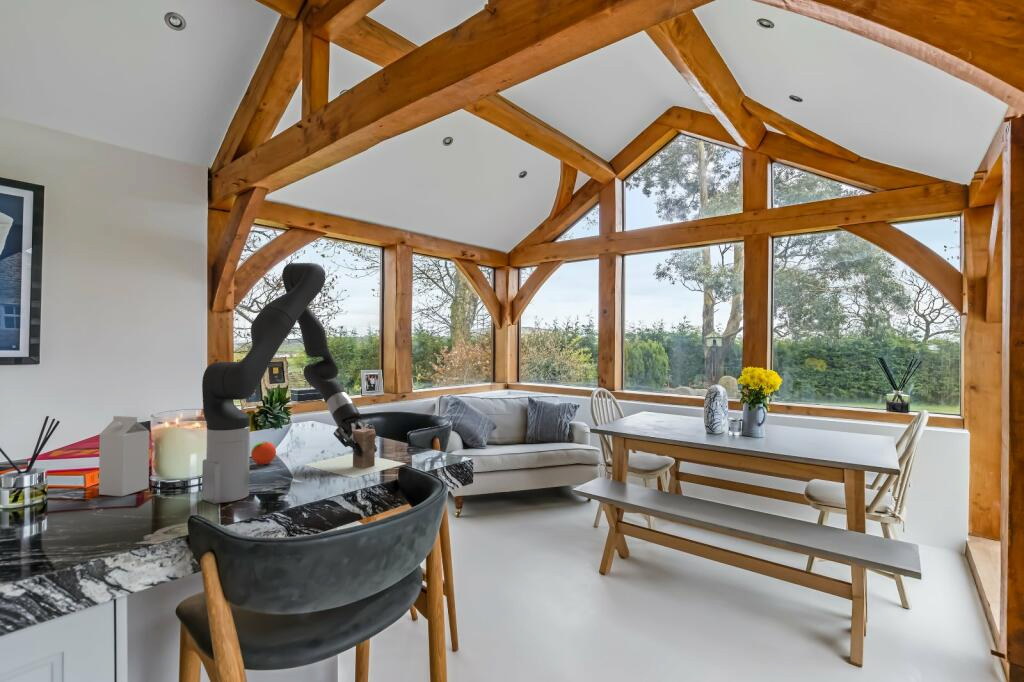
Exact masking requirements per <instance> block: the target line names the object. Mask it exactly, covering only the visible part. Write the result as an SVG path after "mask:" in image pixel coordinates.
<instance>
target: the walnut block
mask: <svg viewBox="0 0 1024 682" xmlns="http://www.w3.org/2000/svg"><path fill="white" fill-rule="evenodd" d="M353 432H354V433H355V438H356V439H357V443H359V445H360V447H361V449H362V450H363V452H364V453H363V455H362V456H361V457H358V456H357V455H356V454H355V452H354V450H353V449H352V454H353V467H357V468H361V469H364V468H368V467H372V466H375V457H376V456H375V455H376V452H375V445H376V444H375V443H376V438H375V432H376V429H375V430H373V429H367V428H363V429H357V430H353Z"/></svg>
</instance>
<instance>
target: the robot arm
mask: <svg viewBox="0 0 1024 682" xmlns="http://www.w3.org/2000/svg"><path fill="white" fill-rule="evenodd" d="M281 274H282V275H281V279H282V283H283V286H284V290H285V292H286V293H284V294H282V295H280V296H278V297H277V298H275V299H273V300H272V301H269V302H268V303H267V304H265V305H264V307H263V308H261V310H260V312H259V313H258V314H257V315H256V317H255V318H254V320H252V323H251V325H250V337H251V348H250V350H249V351H248V353H247V354H246V355H245V356H244V358H243V359H242V360H240V361H215V362H213V363H210V364H209V365H208V366H207V367H206V369H204V373H203V375H202V381H201V382H202V383H201V390H202V411H203V412H202V413H203V417H204V419H205V422H206V458H205V459H203V460H202V469H201V470H202V473H201V474H202V475H201V476H202V479H201V480H202V481H201V483H202V485H201V486H202V488H201V499H202V500H204V501H205V502H208V503H209V504H210V503H211V504H213V505H215V504H221V503H231V502H235V501H239V500H243V499H244V498H245V499H246V498H247V497H249V495H250V455H251V452H250V442H251V441H250V439H251V437H250V436H251V426H250V425H251V417H250V414H248V413H247V412H245V411H242V410H241V409H240V408H238V407H237V406H236V405H235V401H241V400H245V399H249V398H250V397H251V396H253V394H254V393H255V392H256V390H257V389H258V388H259V386H260V384H261V382H262V380H263V377H264V376H265V374H266V371H267V369H268V368H269V366H270V364H271V362H272V360H273V359H274V357H275V356H276V354H277V352H278V351H279V349H280V347H281V345H282V344H283V343H284V342H285V340H286V338H287V337H288V336H289V334H290V333H291V331H292V330H293V328H294V326H295V325H296V323H298V327H299V328H300V329H299V330H300V333H301V338H302V341H303V346H304V351H305V354H306V356H307V357H309V358H322V360H318V361H315V362H312V363H308V364H306V365H305V367H304V368H303V377H304V379H305V381H306V382H307V383H308V384H309V385H310V386H311V387H312V388H313V389H314V390H315V391H317V393H319V394H320V396H321V397H322V399H323V400H324V402H325V404H326V406H327V408H328V411H329V413H330V415H331V417H332V418H333V421H334V422H335V424H336V426H337V428H336V429H335V430H334V432H333V433H332V434H333V436H334V437H335V438H336V439H337V440H338V441H339V442H340V443H341V444H342V446H344V448H347V447H350V448H351V449H352V451H353V450H354V452H355V454H356V455H357V456H358V457H361V456H362V455H363V453H364V452H363V450H362V449H361V447H360V445H359V443H357V439H356V438H355V433H354V432H353V430H357V429H363V428H367V429H373V430H375V439H376V438H377V436H378V435H377V432H376V429H375V425H374V423H373V422H371V421H370V422H369V423H365V422H364V421H363V420H362V417H361V413H360V412H359V409H358V408H357V406H356V404H355V402H354V401H353V399H352V398H351V397H350V395H349V393H347V391H346V389H345V388H344V386H343V384H342V383H341V381H339V380H336V379H335V378H337V376H338V374H339V367H338V364H337V363H336V361H335V359H334V358H333V356H332V353H331V350H330V348H329V345H328V339H327V335H326V330H325V327H324V325H323V323H322V322H321V321H320V319H319V318H318V317H317V316H316V314H315V313H314V311H313V310H312V308H310V306H309V305H310V304H311V303H312V302H313V300H314V299H316V297H317V296H318V295H319V293H320V292H321V291H322V289H323V288H324V286H325V283H326V271H325V269H324V267H323V266H322V265H320V264H318V263H315V262H314V263H313V262H292V263H288V264H286V265H285V266H284V267H283V270H282V273H281ZM334 379H335V380H334ZM377 451H378V447H377V445H376V444H375V453H376V452H377Z"/></svg>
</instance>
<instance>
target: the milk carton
mask: <svg viewBox="0 0 1024 682" xmlns="http://www.w3.org/2000/svg"><path fill="white" fill-rule="evenodd" d="M98 456H99V457H98V458H99V463H98V466H99V468H98V470H99V471H98V475H99V476H98V494H99V495H103V496H111V497H112V496H113V497H124V496H129V495H130V494H134V493H138V492H141V491H144V490H148V489H149V485H150V482H149V480H150V475H149V471H150V430H149V428H147V427H145V426H144V425H142V424H141V423H140V422H139V421H138V417H137V416H125V415H124V416H123V415H113V417H112V421H111V422H110V423H108V425H107V426H105V428H104V429H103V430H102V431H101V432H100V433H99V455H98Z"/></svg>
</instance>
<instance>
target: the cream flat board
mask: <svg viewBox="0 0 1024 682" xmlns="http://www.w3.org/2000/svg"><path fill="white" fill-rule="evenodd" d="M404 465H407V463H406V462H402V461H401V462H400V461H396V460H392V459H387V458H383V457H382V458H381V457H378V456H375V466H372V467H368V468H364V469H361V468H357V467H353V453H350V454H344V455H340V456H336V457H331V458H327V459H326V458H325V459H323V460H317V461H313V462H308V463H304V464H303V466H306V467H311V468H314V469H317V470H322V471H325V472H329V473H334V474H336V475H340V476H344V477H349V478H353V479H354V478H358V477H362V476H367V475H370V474H373V473H377V472H380V471H384V470H389V469H392V468H395V467H400V466H404Z"/></svg>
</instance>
